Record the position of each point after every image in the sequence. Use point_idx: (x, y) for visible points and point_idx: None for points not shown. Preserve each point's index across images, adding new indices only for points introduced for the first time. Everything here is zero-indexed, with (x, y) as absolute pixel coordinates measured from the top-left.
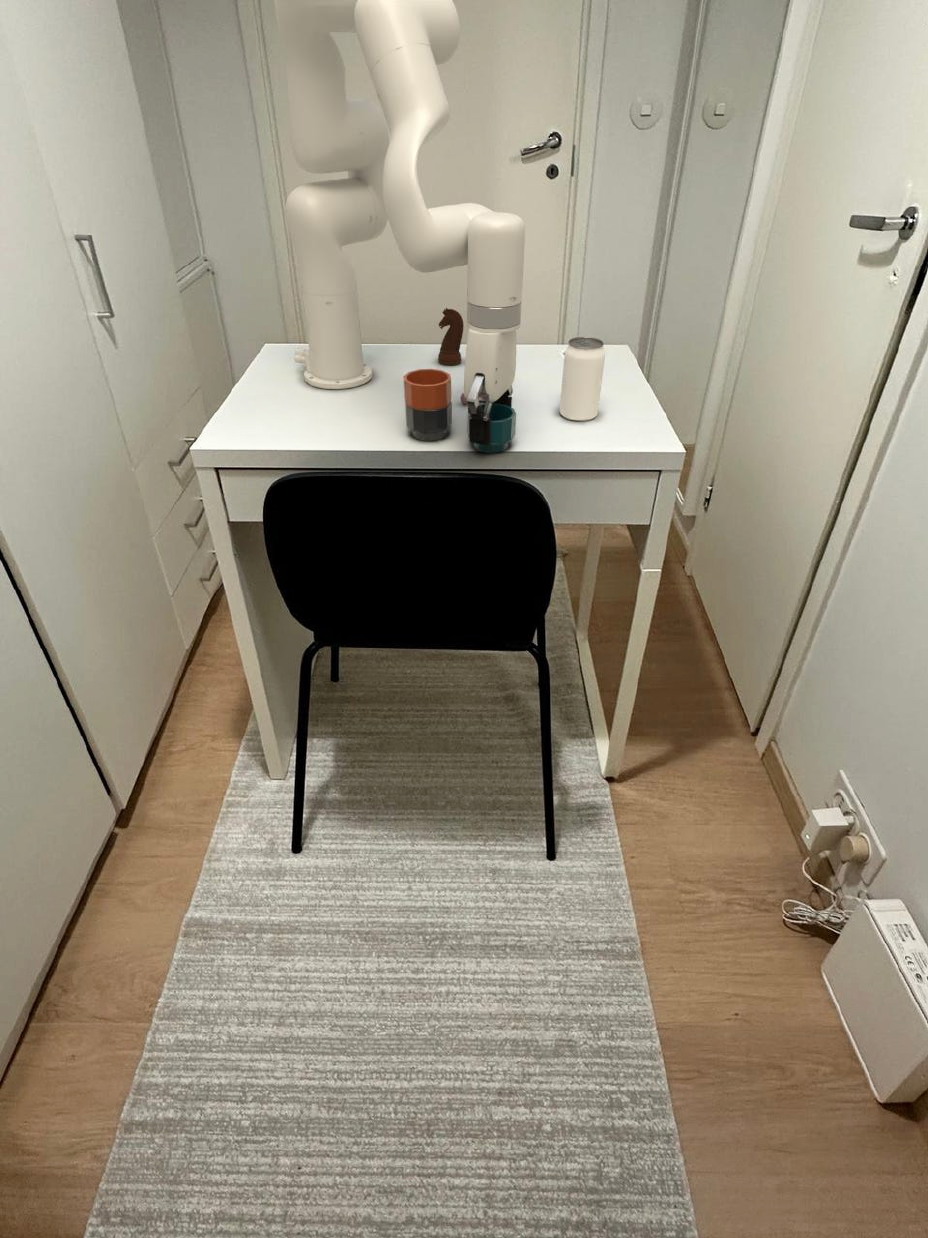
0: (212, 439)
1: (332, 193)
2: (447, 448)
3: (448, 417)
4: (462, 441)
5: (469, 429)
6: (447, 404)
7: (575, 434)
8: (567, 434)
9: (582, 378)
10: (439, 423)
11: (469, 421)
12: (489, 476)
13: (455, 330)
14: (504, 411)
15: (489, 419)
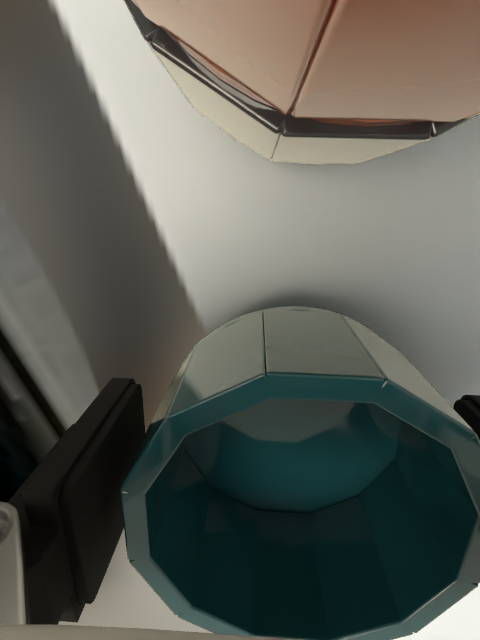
0: None
1: None
2: (172, 211)
3: (299, 155)
4: (281, 255)
5: (81, 417)
6: (324, 120)
7: (473, 621)
8: (468, 602)
9: None
10: (203, 110)
11: (46, 459)
12: (25, 458)
13: None
14: (430, 542)
15: (67, 613)
